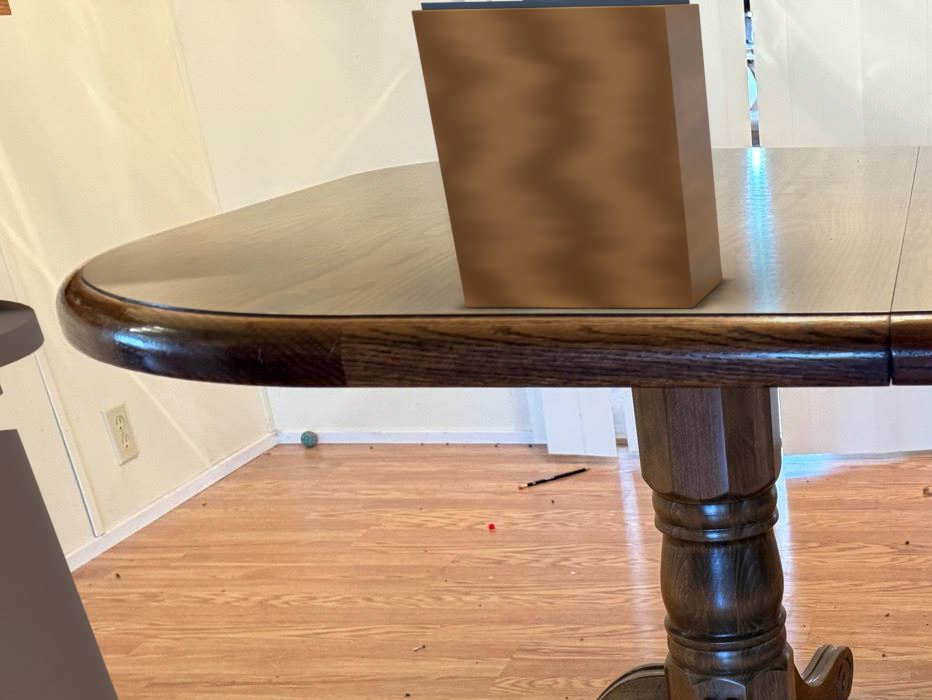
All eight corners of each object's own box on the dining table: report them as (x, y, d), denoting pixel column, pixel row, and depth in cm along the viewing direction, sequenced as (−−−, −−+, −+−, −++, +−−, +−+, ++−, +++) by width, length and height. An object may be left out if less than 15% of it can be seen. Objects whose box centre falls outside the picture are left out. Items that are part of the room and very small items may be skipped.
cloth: (421, 10, 77) (420, 2, 76) (472, 8, 83) (471, 1, 83) (658, 5, 75) (657, -3, 75) (690, 3, 82) (689, -3, 82)
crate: (465, 307, 85) (410, 10, 76) (513, 280, 93) (468, 8, 84) (693, 308, 83) (664, 5, 75) (722, 280, 91) (699, 3, 82)
